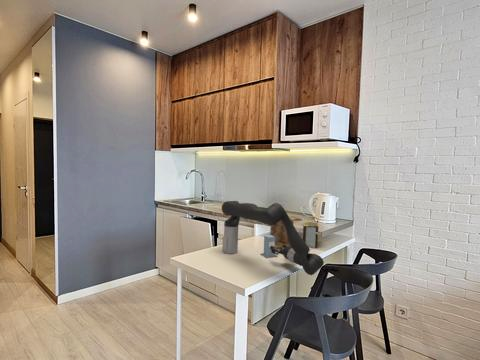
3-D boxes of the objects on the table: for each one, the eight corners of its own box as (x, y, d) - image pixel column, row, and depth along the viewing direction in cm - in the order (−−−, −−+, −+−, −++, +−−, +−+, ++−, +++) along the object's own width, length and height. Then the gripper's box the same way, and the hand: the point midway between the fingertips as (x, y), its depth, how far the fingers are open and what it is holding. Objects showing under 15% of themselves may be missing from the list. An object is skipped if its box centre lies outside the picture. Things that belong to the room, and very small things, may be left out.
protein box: (316, 242, 211) (317, 222, 211) (317, 248, 196) (318, 226, 196) (302, 241, 214) (303, 221, 213) (302, 247, 199) (303, 225, 198)
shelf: (278, 252, 183) (279, 220, 182) (269, 248, 193) (270, 217, 192) (300, 250, 191) (302, 218, 190) (290, 245, 201) (292, 216, 200)
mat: (266, 258, 172) (266, 257, 172) (260, 254, 179) (260, 253, 179) (277, 256, 175) (277, 256, 175) (270, 252, 182) (270, 252, 182)
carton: (267, 256, 173) (268, 237, 173) (263, 254, 178) (264, 235, 177) (274, 255, 176) (275, 236, 175) (270, 253, 180) (271, 234, 180)
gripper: (303, 246, 157) (286, 239, 172) (282, 249, 151) (267, 241, 165) (303, 259, 157) (286, 251, 172) (282, 262, 151) (266, 254, 166)
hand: (277, 246), depth 169 cm, fingers open, 8 cm apart
